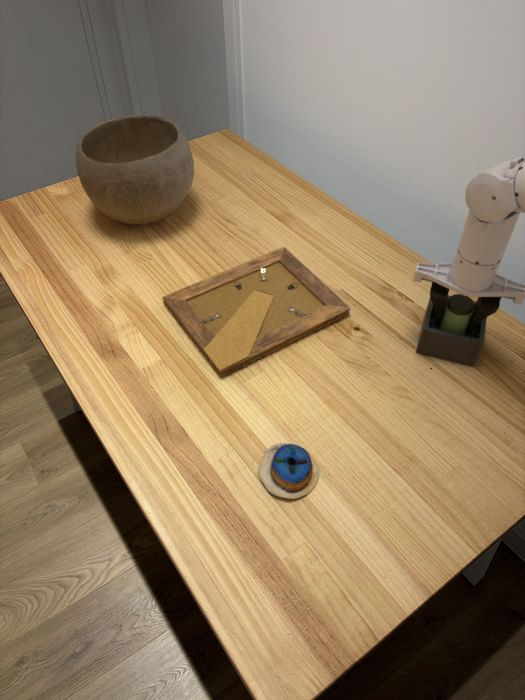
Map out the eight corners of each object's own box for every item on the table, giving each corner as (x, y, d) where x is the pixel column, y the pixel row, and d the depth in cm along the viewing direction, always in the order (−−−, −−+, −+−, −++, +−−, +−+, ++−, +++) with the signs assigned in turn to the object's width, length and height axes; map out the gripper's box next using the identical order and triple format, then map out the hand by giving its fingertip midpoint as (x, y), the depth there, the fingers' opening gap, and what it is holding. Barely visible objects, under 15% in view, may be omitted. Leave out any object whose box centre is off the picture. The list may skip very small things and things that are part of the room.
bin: (478, 327, 86) (488, 304, 82) (473, 367, 81) (483, 343, 77) (424, 315, 88) (431, 291, 84) (415, 352, 83) (422, 329, 79)
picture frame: (220, 378, 79) (349, 315, 88) (219, 370, 78) (350, 306, 87) (163, 303, 90) (283, 253, 98) (161, 295, 89) (284, 245, 97)
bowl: (73, 203, 109) (50, 130, 98) (164, 169, 117) (153, 98, 106) (121, 257, 98) (102, 181, 87) (219, 215, 106) (213, 141, 95)
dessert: (327, 495, 66) (299, 474, 63) (282, 514, 69) (253, 496, 65) (317, 441, 72) (292, 419, 69) (276, 461, 75) (250, 441, 71)
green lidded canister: (466, 326, 84) (477, 296, 79) (462, 344, 81) (473, 315, 77) (439, 319, 85) (449, 290, 80) (435, 337, 82) (444, 308, 78)
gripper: (539, 245, 72) (506, 318, 83) (427, 223, 76) (409, 296, 86) (538, 278, 68) (503, 351, 78) (419, 254, 71) (400, 327, 82)
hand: (453, 325), depth 82 cm, fingers closed on green lidded canister, 4 cm apart
